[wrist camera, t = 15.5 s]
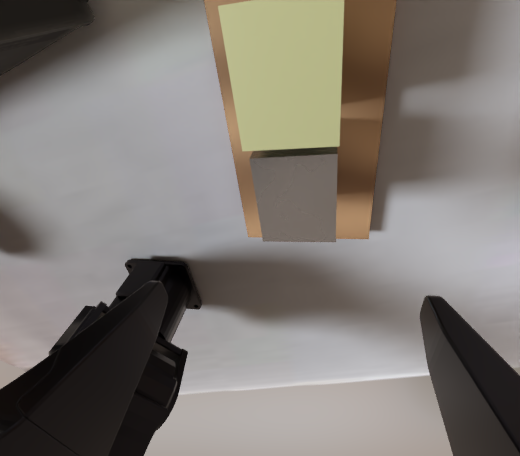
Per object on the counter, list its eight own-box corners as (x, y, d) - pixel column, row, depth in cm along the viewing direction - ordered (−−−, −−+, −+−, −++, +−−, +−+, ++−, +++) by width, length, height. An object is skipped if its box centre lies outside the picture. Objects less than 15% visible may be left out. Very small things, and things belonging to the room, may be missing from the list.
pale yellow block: (336, 104, 16) (339, 146, 12) (265, 110, 17) (242, 151, 13) (338, -10, 13) (344, -15, 9) (253, 4, 14) (217, 5, 10)
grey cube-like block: (334, 194, 20) (335, 242, 16) (275, 195, 21) (262, 241, 17) (335, 118, 17) (337, 154, 13) (266, 123, 18) (249, 158, 14)
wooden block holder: (366, 230, 22) (379, 305, 17) (250, 229, 24) (228, 296, 19) (429, -325, 9) (571, -784, 4) (169, -231, 11) (20, -447, 6)
